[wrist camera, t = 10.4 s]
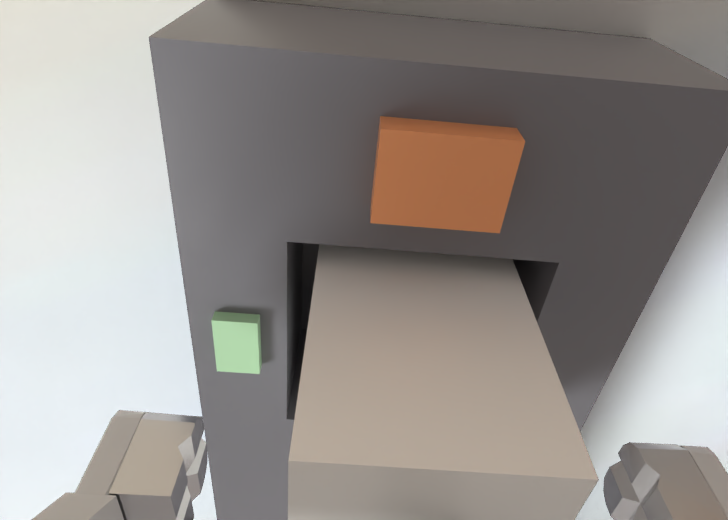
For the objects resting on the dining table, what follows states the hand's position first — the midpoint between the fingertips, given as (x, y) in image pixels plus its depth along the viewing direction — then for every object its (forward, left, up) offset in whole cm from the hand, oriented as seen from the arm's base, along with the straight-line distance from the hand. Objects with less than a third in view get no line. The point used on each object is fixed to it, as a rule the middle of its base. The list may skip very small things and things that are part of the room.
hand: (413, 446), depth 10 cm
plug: (0, 0, -6) cm, 6 cm away
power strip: (-5, 0, -7) cm, 9 cm away
